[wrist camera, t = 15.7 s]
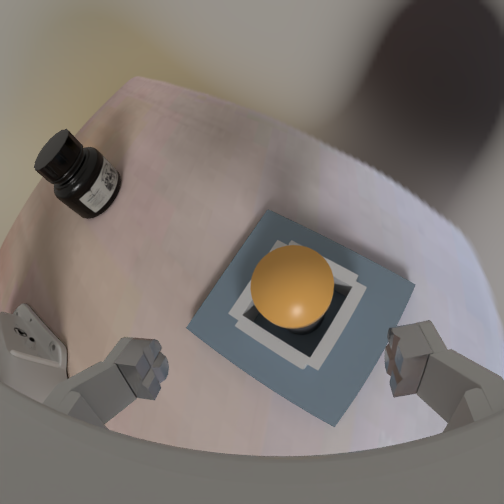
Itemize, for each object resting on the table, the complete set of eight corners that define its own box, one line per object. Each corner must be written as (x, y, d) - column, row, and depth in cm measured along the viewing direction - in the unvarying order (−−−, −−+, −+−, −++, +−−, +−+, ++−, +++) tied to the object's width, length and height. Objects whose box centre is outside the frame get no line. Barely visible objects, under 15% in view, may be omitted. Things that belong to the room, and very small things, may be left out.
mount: (192, 330, 27) (167, 321, 22) (270, 216, 29) (260, 189, 25) (333, 423, 20) (336, 437, 16) (410, 289, 23) (428, 272, 19)
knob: (263, 320, 24) (234, 298, 16) (293, 274, 25) (278, 232, 17) (310, 349, 22) (305, 342, 14) (340, 301, 23) (349, 268, 15)
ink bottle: (113, 218, 35) (55, 169, 25) (73, 226, 37) (20, 187, 27) (129, 163, 39) (85, 112, 28) (90, 176, 41) (47, 133, 30)
